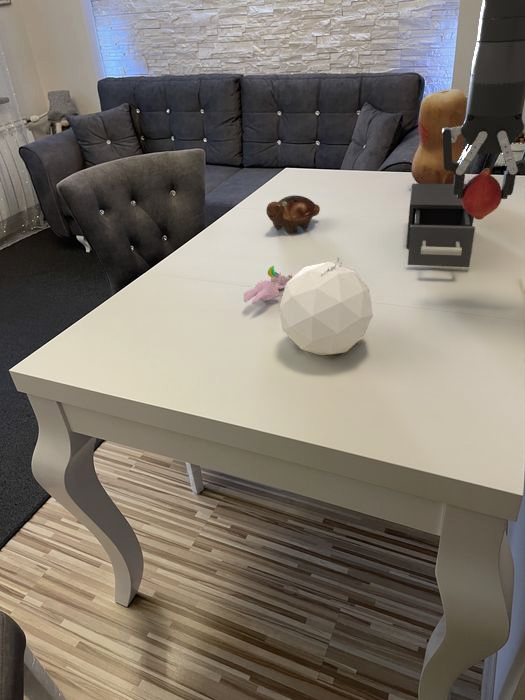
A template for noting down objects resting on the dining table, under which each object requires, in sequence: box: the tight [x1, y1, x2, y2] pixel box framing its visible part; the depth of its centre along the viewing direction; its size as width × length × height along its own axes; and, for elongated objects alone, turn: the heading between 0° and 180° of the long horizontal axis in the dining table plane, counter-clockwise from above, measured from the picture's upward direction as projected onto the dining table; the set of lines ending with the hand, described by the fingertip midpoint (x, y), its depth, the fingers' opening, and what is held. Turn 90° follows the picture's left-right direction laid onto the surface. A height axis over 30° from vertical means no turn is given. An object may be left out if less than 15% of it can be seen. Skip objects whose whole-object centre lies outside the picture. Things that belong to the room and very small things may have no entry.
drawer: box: [407, 208, 476, 268], centre depth 105 cm, size 18×11×8 cm, turn 165°
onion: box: [461, 167, 503, 221], centre depth 83 cm, size 6×6×8 cm
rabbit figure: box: [243, 265, 293, 304], centre depth 98 cm, size 6×6×15 cm
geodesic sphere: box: [278, 257, 374, 356], centre depth 81 cm, size 15×14×14 cm
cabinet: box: [405, 183, 475, 250], centre depth 116 cm, size 15×13×10 cm
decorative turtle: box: [265, 194, 321, 235], centre depth 127 cm, size 10×15×8 cm, turn 132°
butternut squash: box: [411, 88, 468, 184], centre depth 139 cm, size 14×13×25 cm
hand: (481, 197), depth 83 cm, fingers closed on onion, 6 cm apart
